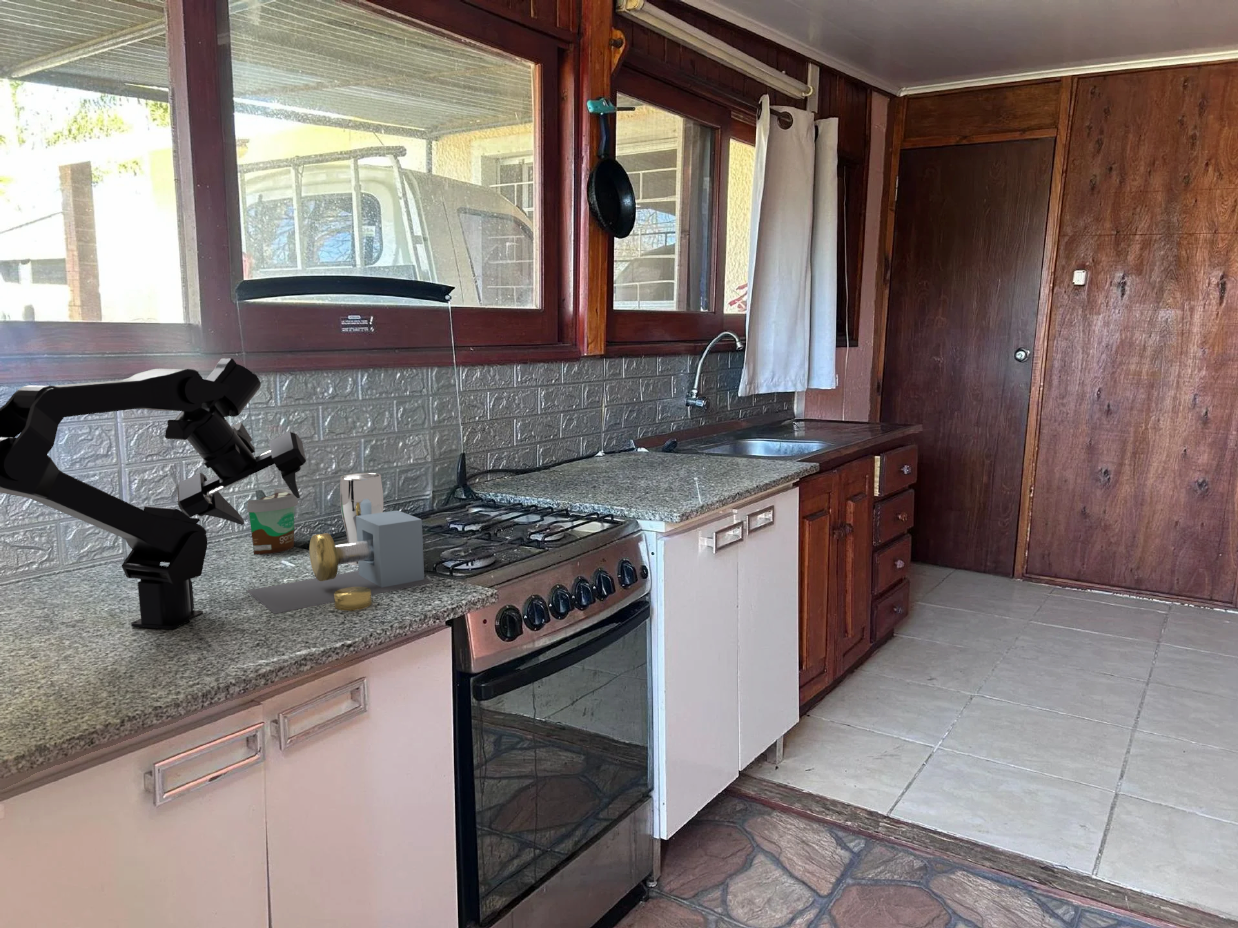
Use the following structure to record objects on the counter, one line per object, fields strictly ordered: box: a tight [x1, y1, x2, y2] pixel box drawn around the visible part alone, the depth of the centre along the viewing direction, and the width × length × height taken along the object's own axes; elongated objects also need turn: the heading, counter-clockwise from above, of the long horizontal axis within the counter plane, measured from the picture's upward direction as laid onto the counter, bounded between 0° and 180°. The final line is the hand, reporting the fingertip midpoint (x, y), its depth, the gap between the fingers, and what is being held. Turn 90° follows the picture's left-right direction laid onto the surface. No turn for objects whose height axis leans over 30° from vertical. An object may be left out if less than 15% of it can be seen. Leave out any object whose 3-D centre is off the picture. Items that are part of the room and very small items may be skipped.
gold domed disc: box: [334, 587, 373, 612], centre depth 123 cm, size 5×5×2 cm
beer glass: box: [339, 472, 384, 566], centre depth 147 cm, size 7×7×15 cm
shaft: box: [309, 532, 374, 581], centre depth 134 cm, size 15×7×7 cm, turn 128°
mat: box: [246, 570, 434, 615], centre depth 133 cm, size 24×14×1 cm, turn 128°
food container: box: [246, 488, 299, 556], centre depth 158 cm, size 12×6×10 cm, turn 179°
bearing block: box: [356, 510, 425, 587], centre depth 137 cm, size 7×9×10 cm
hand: (270, 509), depth 135 cm, fingers open, 9 cm apart
